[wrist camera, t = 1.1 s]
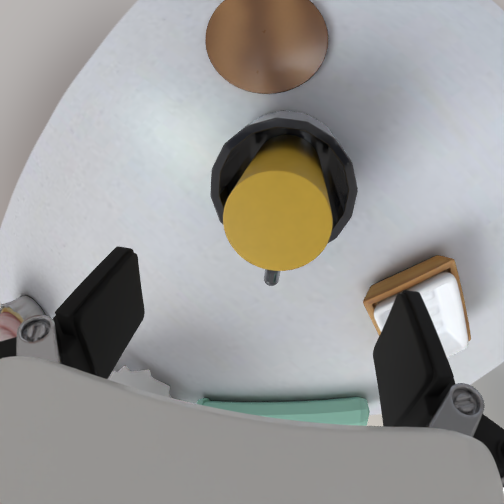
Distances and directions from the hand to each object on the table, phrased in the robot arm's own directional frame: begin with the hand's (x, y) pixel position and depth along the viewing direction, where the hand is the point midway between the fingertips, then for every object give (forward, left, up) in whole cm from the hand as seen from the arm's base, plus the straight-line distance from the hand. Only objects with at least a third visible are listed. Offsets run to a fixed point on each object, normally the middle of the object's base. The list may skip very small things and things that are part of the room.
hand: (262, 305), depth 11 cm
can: (0, 0, -18) cm, 18 cm away
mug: (+1, +1, -19) cm, 19 cm away
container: (+13, +32, -19) cm, 39 cm away
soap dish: (-8, +19, -19) cm, 28 cm away
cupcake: (+46, +4, -19) cm, 50 cm away
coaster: (-3, -11, -19) cm, 22 cm away
